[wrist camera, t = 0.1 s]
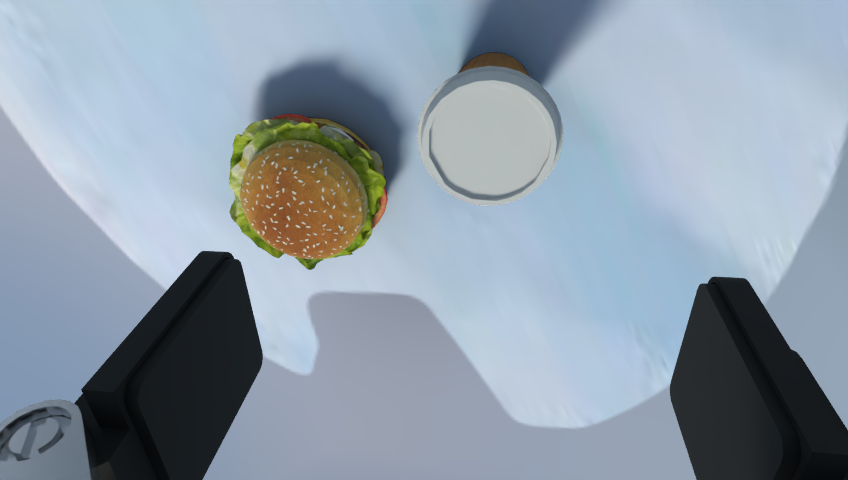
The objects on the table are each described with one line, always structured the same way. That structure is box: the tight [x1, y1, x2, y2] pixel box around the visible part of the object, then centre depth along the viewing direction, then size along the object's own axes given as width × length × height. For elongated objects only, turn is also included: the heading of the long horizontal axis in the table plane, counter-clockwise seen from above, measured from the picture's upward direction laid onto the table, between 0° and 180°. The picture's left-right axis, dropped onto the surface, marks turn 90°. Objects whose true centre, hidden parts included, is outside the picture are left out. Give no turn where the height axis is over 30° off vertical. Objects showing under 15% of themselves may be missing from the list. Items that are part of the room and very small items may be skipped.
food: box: [229, 114, 388, 270], centre depth 49 cm, size 14×14×8 cm
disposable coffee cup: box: [417, 52, 563, 206], centre depth 41 cm, size 10×10×12 cm
